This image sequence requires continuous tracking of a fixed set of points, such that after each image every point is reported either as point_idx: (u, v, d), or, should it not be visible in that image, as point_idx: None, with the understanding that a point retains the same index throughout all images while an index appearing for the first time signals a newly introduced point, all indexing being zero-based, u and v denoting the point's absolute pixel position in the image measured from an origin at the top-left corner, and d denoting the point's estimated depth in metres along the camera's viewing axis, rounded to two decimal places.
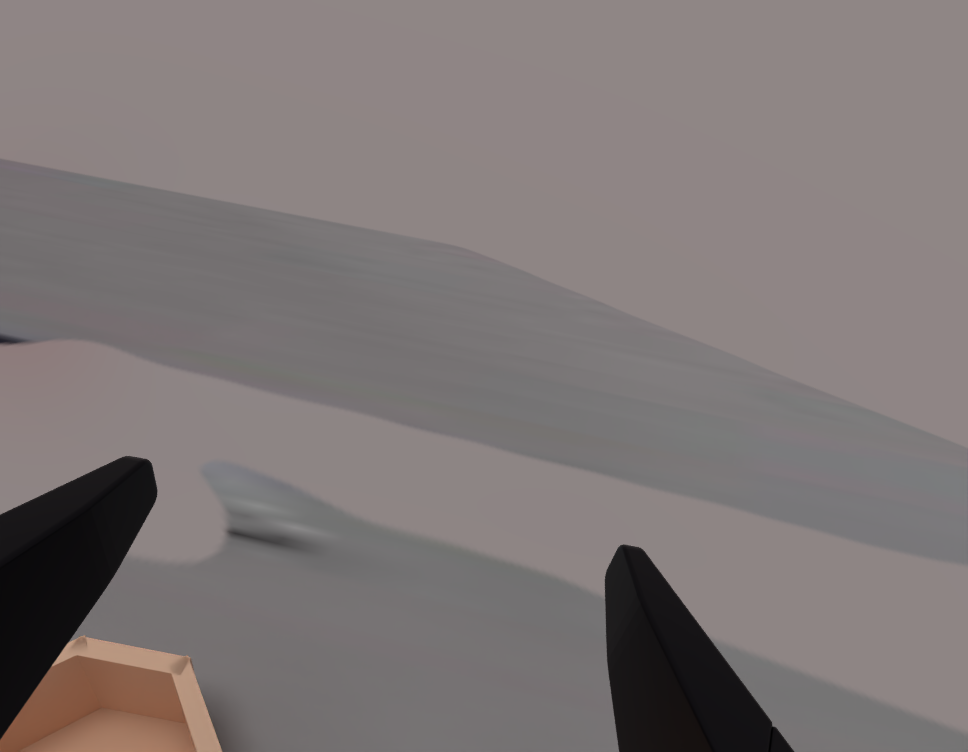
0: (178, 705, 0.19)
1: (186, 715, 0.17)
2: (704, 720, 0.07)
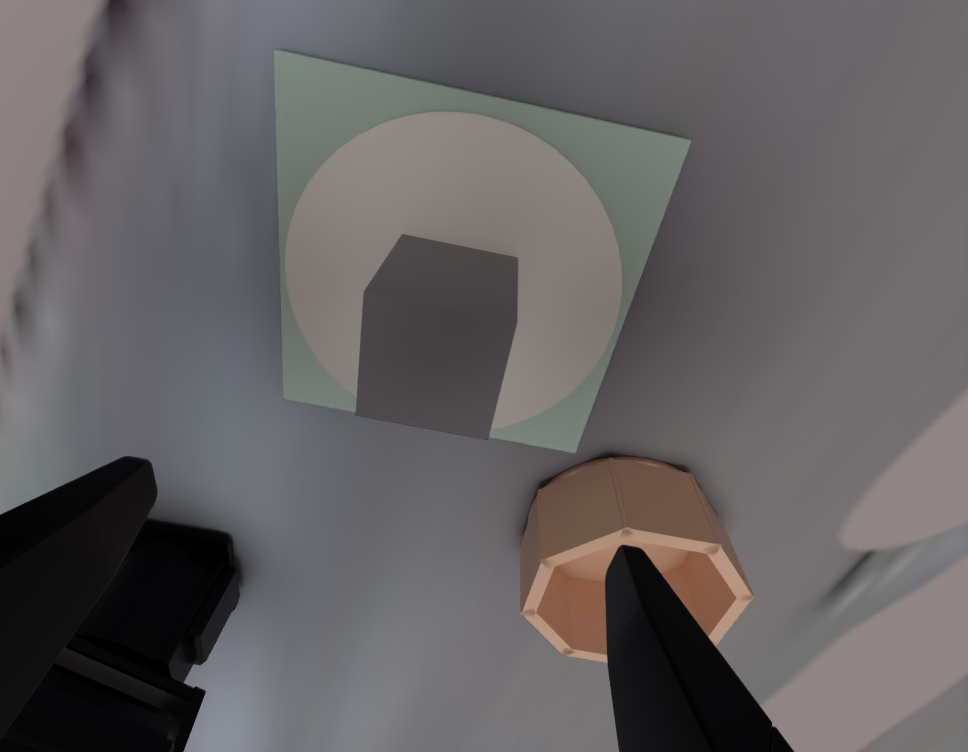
0: (690, 591, 0.25)
1: None
2: (704, 720, 0.07)
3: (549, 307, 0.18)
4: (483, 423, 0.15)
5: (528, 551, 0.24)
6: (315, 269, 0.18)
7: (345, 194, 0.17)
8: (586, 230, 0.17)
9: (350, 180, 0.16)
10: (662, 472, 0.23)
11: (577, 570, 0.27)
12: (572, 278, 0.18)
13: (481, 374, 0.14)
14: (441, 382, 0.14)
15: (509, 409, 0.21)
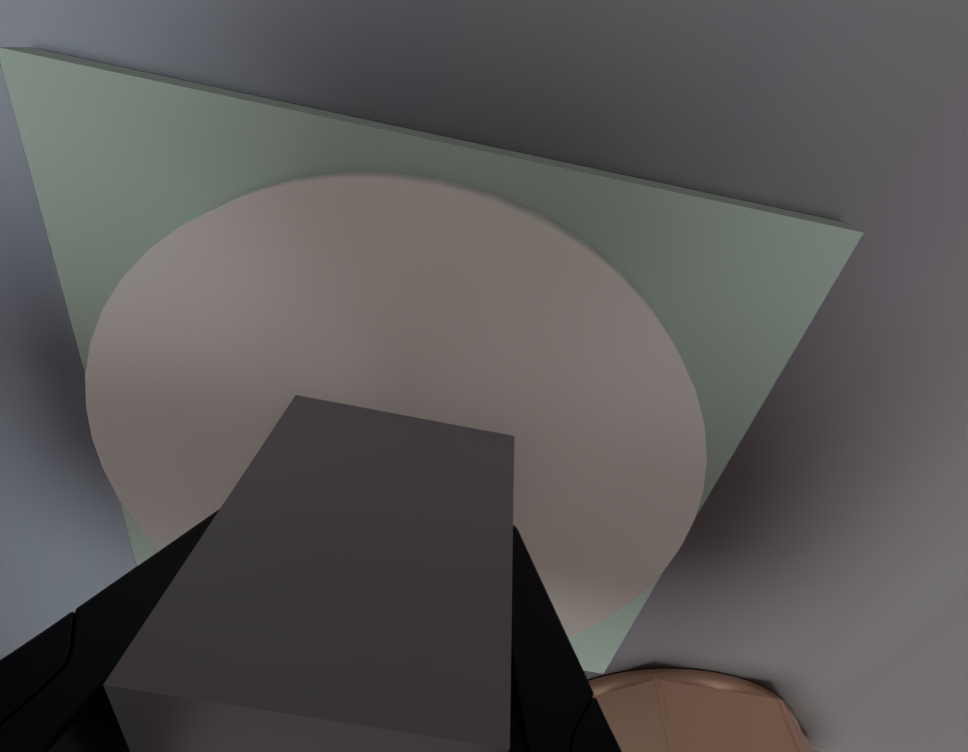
0: None
1: None
2: (520, 690, 0.06)
3: (570, 509, 0.10)
4: None
5: None
6: (147, 445, 0.10)
7: (178, 329, 0.09)
8: (645, 396, 0.09)
9: (183, 305, 0.08)
10: (738, 702, 0.15)
11: None
12: (614, 469, 0.10)
13: None
14: None
15: None
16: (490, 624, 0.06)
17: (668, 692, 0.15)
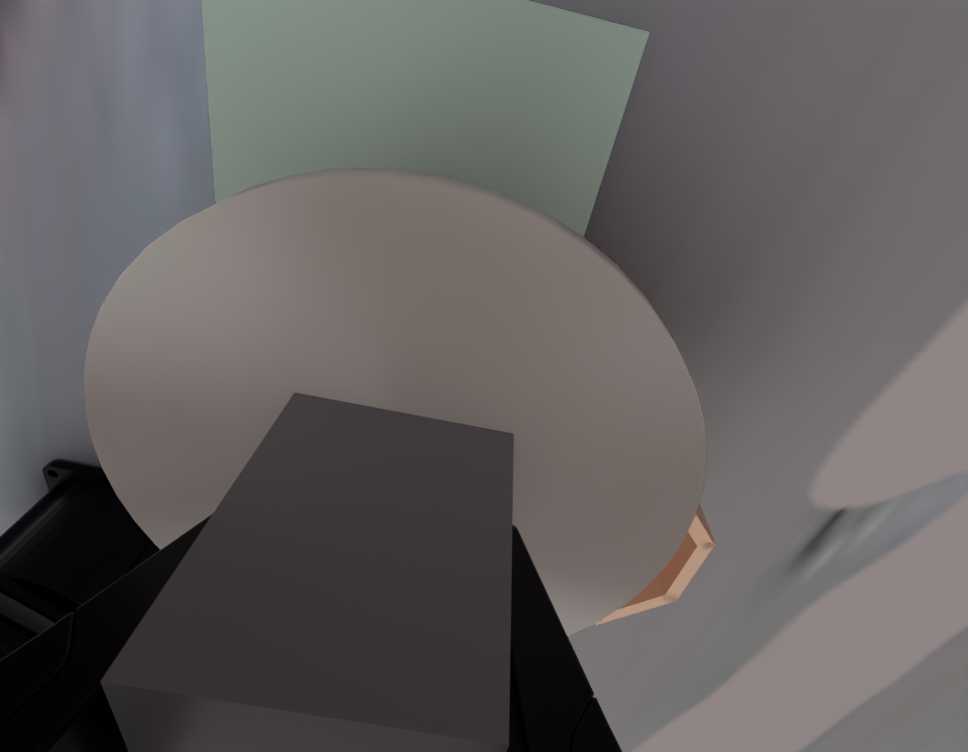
0: None
1: (630, 606, 0.23)
2: (520, 690, 0.06)
3: (569, 507, 0.10)
4: None
5: None
6: (146, 443, 0.10)
7: (176, 326, 0.09)
8: (644, 393, 0.09)
9: (181, 302, 0.08)
10: None
11: None
12: (614, 467, 0.10)
13: None
14: None
15: None
16: (489, 621, 0.06)
17: None
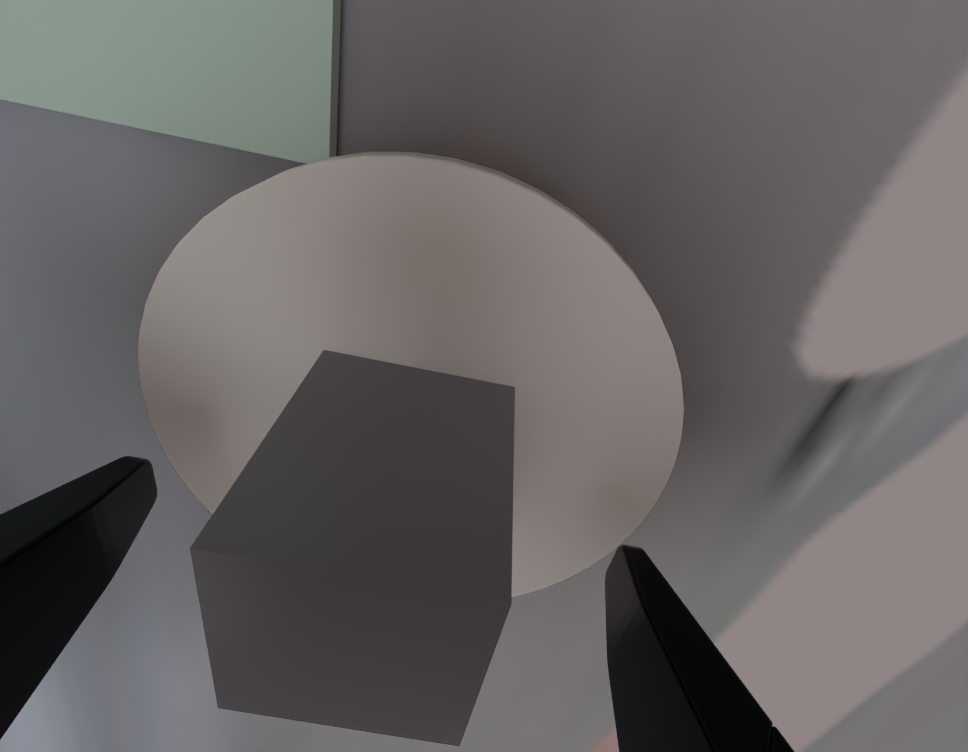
0: None
1: None
2: (704, 720, 0.07)
3: (564, 456, 0.12)
4: (450, 728, 0.08)
5: None
6: (190, 397, 0.11)
7: (223, 289, 0.10)
8: (628, 349, 0.10)
9: (228, 268, 0.10)
10: None
11: None
12: (602, 418, 0.11)
13: (443, 670, 0.07)
14: (368, 676, 0.08)
15: None
16: (495, 522, 0.08)
17: None
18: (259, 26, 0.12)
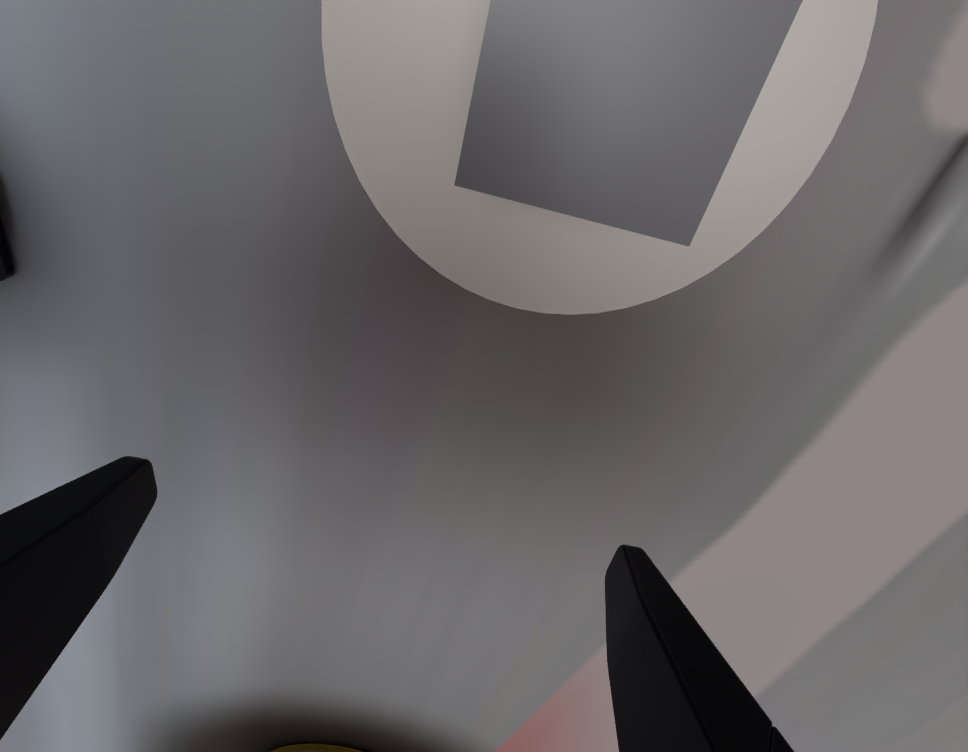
0: None
1: None
2: (704, 720, 0.07)
3: None
4: (690, 208, 0.08)
5: None
6: (371, 5, 0.11)
7: None
8: None
9: None
10: None
11: None
12: (789, 34, 0.11)
13: (717, 87, 0.07)
14: (634, 105, 0.07)
15: (639, 278, 0.14)
16: None
17: None
18: None
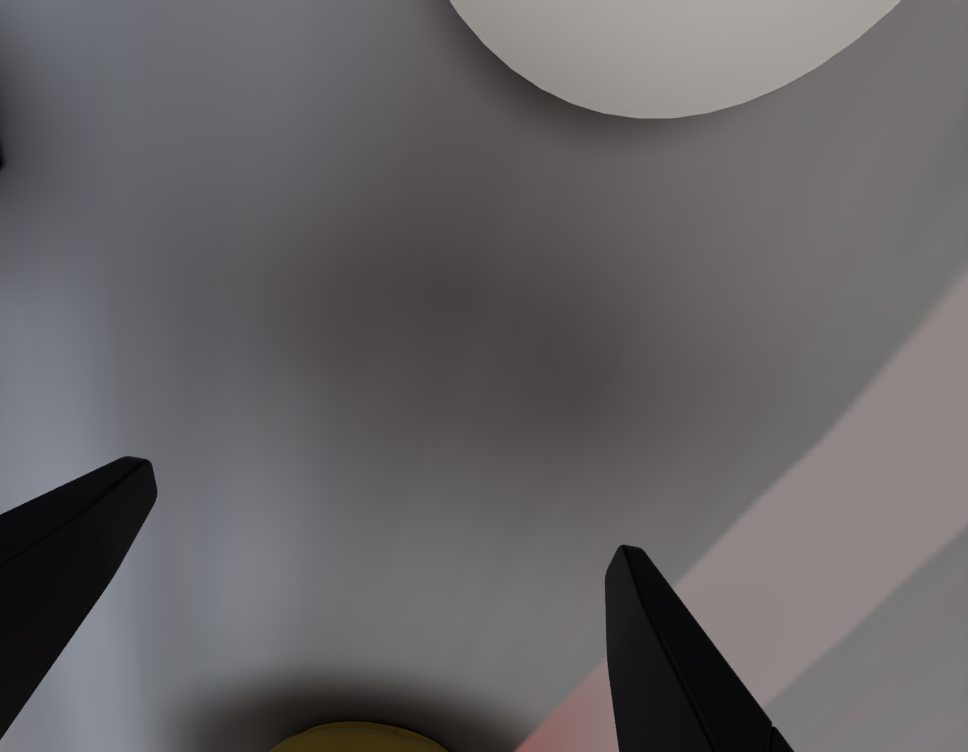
0: None
1: None
2: (704, 720, 0.07)
3: None
4: None
5: None
6: None
7: None
8: None
9: None
10: None
11: None
12: None
13: None
14: None
15: (764, 56, 0.11)
16: None
17: None
18: None
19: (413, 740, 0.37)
